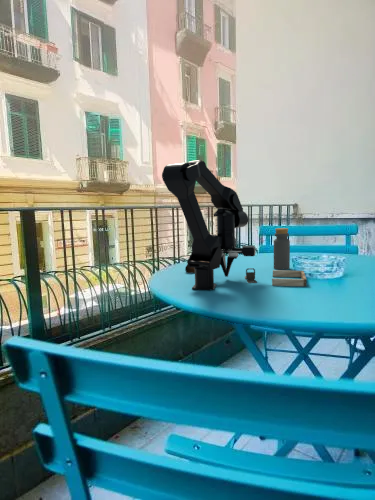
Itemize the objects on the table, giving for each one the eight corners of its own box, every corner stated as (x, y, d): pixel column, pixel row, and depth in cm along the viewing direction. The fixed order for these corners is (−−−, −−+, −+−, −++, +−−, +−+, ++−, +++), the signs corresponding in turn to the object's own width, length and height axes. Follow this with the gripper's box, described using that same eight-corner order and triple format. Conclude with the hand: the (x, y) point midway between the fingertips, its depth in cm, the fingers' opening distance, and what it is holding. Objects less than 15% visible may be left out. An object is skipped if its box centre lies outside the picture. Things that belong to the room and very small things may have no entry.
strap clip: (244, 278, 123) (243, 266, 122) (253, 278, 123) (252, 265, 122) (247, 284, 115) (247, 270, 114) (257, 283, 114) (257, 270, 114)
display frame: (306, 286, 108) (306, 279, 108) (272, 285, 110) (272, 279, 110) (303, 276, 121) (303, 270, 121) (272, 276, 123) (272, 270, 123)
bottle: (291, 269, 133) (291, 229, 131) (275, 270, 134) (275, 229, 131) (287, 266, 139) (287, 227, 137) (272, 267, 139) (272, 228, 137)
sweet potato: (207, 273, 131) (197, 257, 131) (191, 282, 133) (182, 266, 134) (220, 264, 147) (211, 250, 148) (206, 272, 150) (198, 258, 150)
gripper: (256, 227, 124) (256, 272, 126) (202, 227, 128) (203, 271, 130) (254, 230, 113) (254, 279, 115) (196, 230, 118) (197, 277, 120)
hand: (226, 276), depth 120 cm, fingers closed
